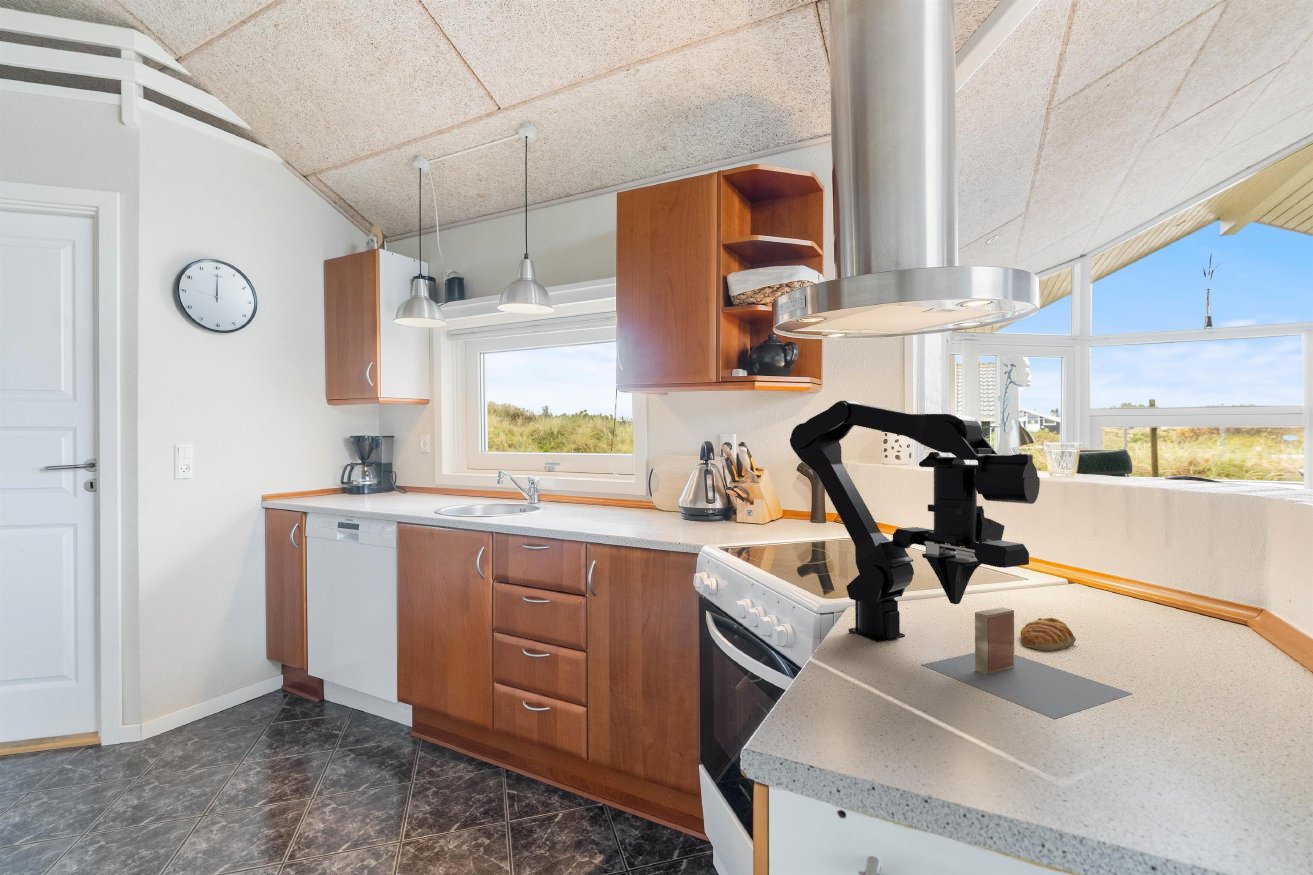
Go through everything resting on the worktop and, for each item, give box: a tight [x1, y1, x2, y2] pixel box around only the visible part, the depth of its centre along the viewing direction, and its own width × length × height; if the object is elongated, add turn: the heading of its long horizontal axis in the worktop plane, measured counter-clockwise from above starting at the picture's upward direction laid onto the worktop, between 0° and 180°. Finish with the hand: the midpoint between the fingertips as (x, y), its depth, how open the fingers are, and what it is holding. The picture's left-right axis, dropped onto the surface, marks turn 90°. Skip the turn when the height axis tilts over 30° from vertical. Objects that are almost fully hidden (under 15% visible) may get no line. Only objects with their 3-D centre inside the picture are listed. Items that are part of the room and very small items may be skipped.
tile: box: [974, 606, 1016, 675], centre depth 80 cm, size 2×6×8 cm, turn 115°
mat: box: [921, 652, 1133, 720], centre depth 77 cm, size 18×16×1 cm
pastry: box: [1020, 617, 1077, 652], centre depth 91 cm, size 9×7×4 cm
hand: (955, 603), depth 85 cm, fingers closed
